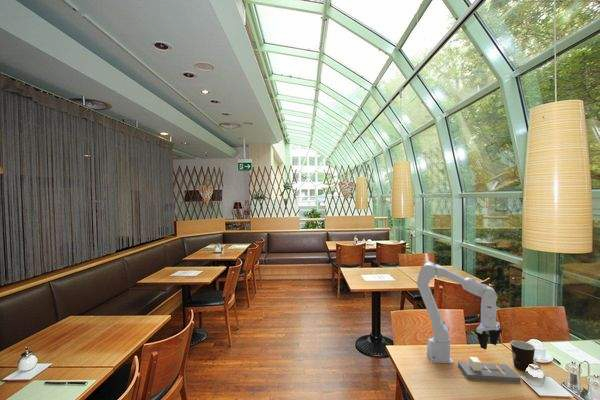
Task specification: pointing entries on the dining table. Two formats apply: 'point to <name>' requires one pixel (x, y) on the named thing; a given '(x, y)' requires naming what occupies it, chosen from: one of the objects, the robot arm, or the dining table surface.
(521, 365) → the coffee mug
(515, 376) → the slider panel
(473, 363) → the slider knob
